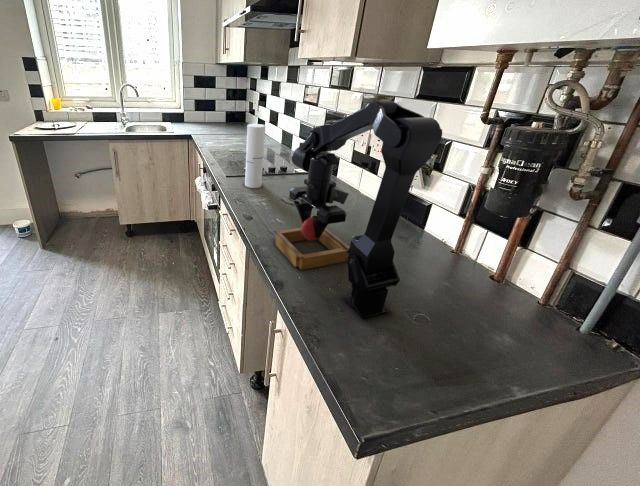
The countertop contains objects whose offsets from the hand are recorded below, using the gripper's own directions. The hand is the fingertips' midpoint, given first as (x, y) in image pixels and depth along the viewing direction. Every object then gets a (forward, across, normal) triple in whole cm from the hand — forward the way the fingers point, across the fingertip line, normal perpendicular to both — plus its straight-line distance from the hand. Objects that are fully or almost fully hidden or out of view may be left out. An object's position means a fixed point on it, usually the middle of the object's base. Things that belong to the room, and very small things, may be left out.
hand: (311, 232), depth 88 cm
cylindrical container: (+6, +55, -5) cm, 56 cm away
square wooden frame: (+6, 0, 0) cm, 6 cm away
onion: (+3, 0, 0) cm, 3 cm away
